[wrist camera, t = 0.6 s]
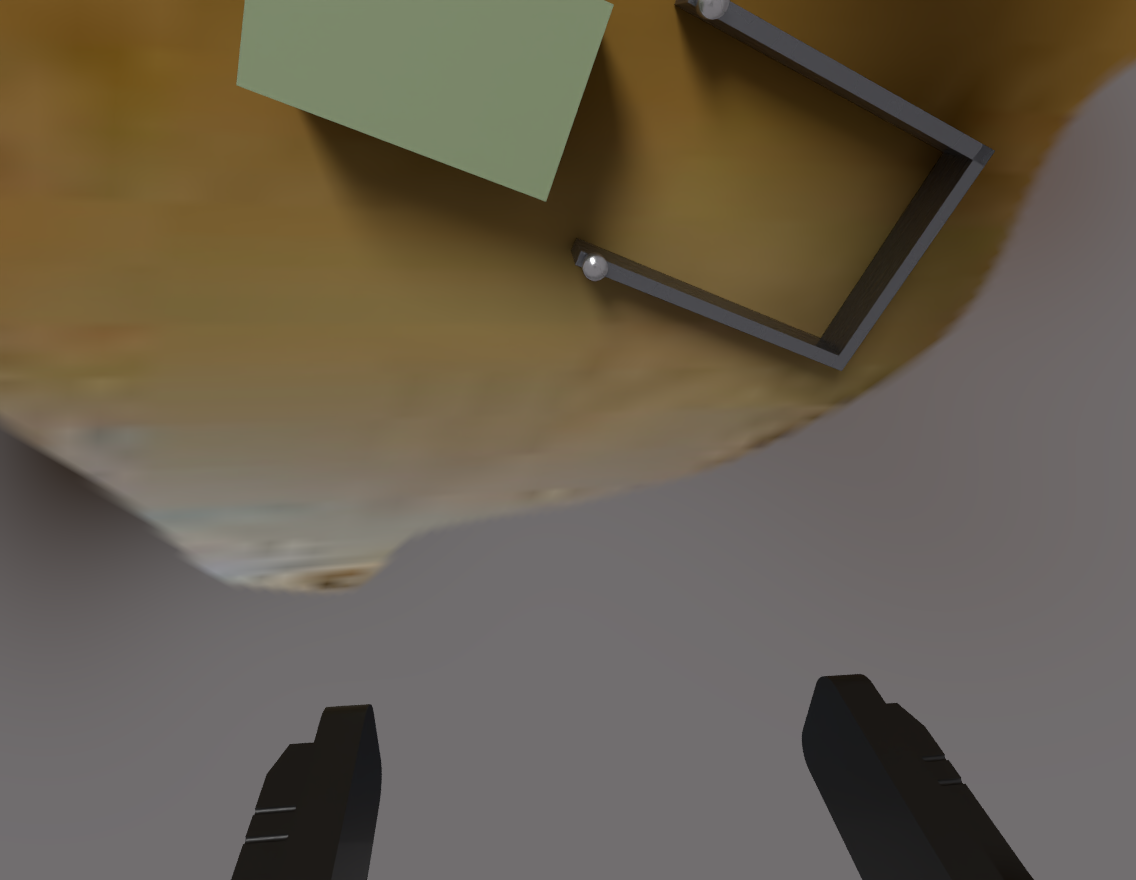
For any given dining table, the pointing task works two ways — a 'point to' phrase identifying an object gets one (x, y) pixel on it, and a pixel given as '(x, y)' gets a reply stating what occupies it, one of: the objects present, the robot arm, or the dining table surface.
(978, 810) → the robot arm
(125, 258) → the dining table surface
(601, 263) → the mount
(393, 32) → the pale green block
